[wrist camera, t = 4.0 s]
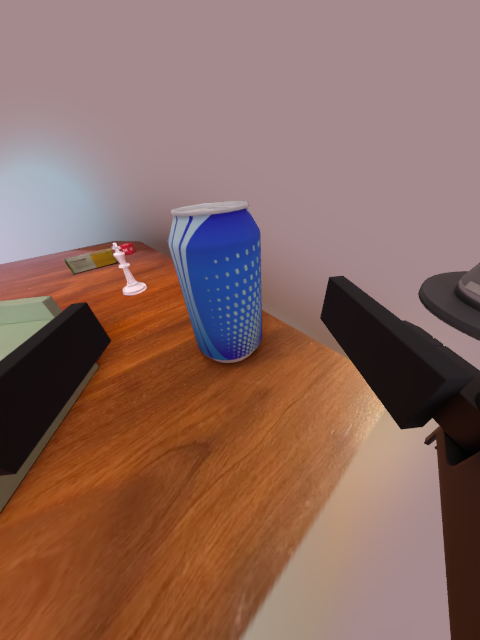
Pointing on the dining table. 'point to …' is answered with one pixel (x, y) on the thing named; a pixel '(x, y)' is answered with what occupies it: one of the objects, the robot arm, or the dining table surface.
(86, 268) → the medication box
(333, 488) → the dining table surface
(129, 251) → the red letter cube
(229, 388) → the dining table surface
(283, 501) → the dining table surface
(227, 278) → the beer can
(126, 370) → the dining table surface
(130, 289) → the chess piece
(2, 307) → the shelf
